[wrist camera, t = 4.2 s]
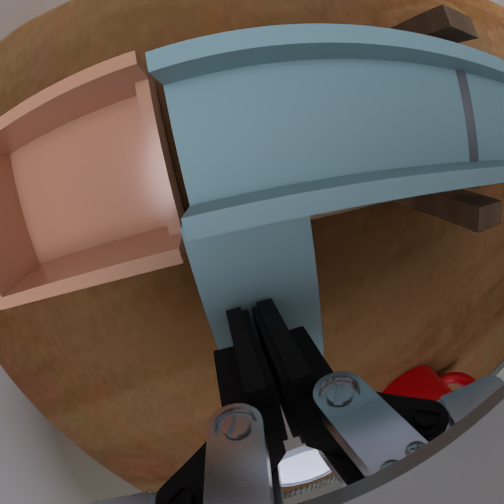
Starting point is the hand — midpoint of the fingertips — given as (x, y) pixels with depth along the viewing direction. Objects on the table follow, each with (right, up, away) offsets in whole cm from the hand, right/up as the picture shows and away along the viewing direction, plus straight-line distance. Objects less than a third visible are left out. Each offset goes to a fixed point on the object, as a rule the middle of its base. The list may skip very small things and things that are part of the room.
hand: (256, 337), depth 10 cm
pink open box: (-9, +7, +3) cm, 12 cm away
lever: (+9, +6, 0) cm, 10 cm away
